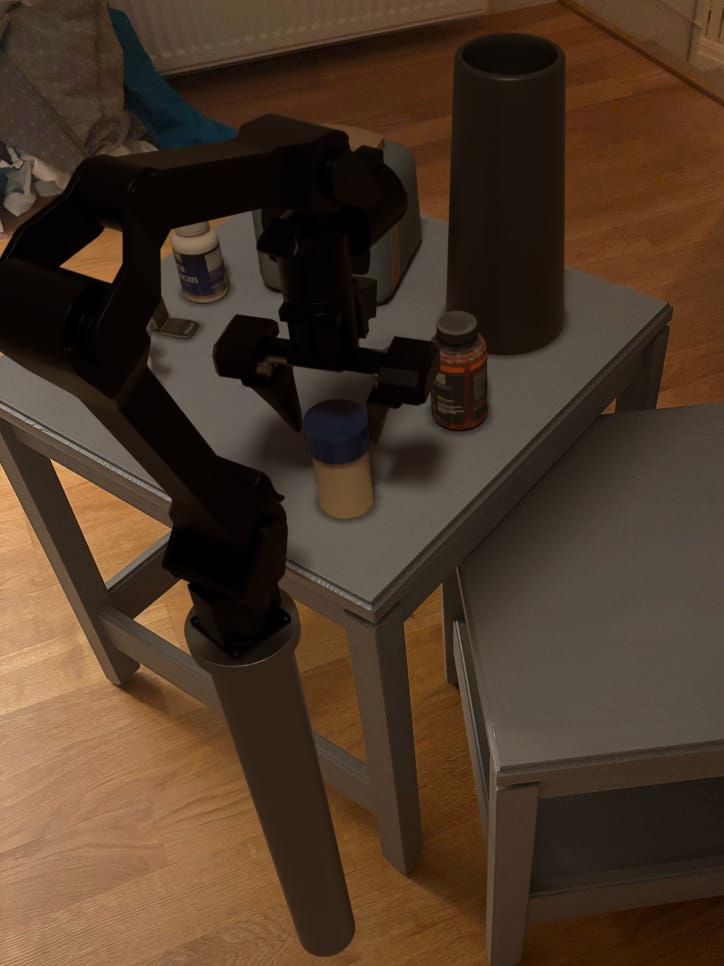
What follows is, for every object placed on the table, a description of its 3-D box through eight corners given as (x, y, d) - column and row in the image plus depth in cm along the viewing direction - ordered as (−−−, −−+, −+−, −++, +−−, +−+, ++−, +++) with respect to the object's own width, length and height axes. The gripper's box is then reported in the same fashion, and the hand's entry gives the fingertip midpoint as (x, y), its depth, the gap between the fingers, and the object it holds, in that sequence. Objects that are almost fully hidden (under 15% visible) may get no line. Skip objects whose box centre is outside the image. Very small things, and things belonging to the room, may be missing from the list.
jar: (345, 527, 100) (334, 449, 92) (309, 501, 102) (295, 423, 94) (384, 499, 102) (376, 422, 94) (348, 475, 104) (338, 397, 97)
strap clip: (121, 329, 120) (111, 296, 117) (133, 314, 122) (123, 281, 118) (189, 340, 118) (181, 307, 115) (200, 325, 120) (192, 292, 117)
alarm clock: (257, 293, 124) (232, 162, 112) (304, 223, 134) (286, 96, 122) (389, 312, 122) (378, 180, 109) (426, 239, 132) (420, 111, 119)
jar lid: (336, 474, 94) (333, 450, 91) (292, 444, 96) (288, 420, 94) (385, 442, 96) (383, 417, 94) (341, 413, 99) (338, 389, 97)
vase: (543, 279, 126) (556, 18, 104) (579, 344, 118) (602, 75, 95) (433, 296, 124) (423, 32, 102) (462, 363, 116) (457, 92, 93)
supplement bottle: (490, 398, 112) (490, 305, 103) (484, 434, 108) (485, 341, 99) (434, 395, 112) (430, 302, 103) (427, 431, 108) (422, 338, 100)
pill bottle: (174, 297, 124) (154, 219, 116) (201, 274, 127) (184, 197, 119) (210, 309, 122) (193, 231, 115) (238, 286, 125) (222, 209, 118)
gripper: (454, 244, 87) (457, 396, 99) (243, 218, 90) (271, 369, 102) (419, 320, 80) (427, 473, 92) (192, 289, 83) (229, 442, 95)
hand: (337, 436), depth 95 cm, fingers open, 7 cm apart
